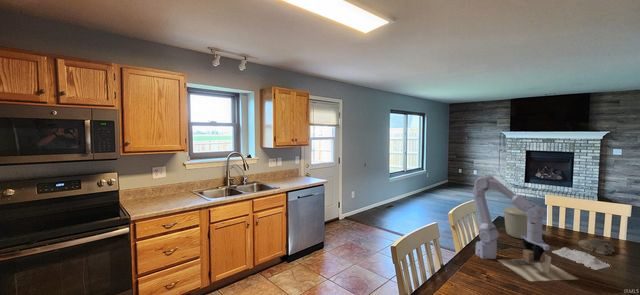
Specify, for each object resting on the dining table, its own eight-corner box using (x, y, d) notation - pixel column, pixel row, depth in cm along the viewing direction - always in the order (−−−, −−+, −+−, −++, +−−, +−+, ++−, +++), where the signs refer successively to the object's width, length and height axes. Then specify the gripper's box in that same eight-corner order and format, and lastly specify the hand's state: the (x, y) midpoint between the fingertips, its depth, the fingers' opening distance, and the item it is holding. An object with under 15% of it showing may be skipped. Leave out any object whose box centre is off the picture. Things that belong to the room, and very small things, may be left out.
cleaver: (561, 241, 173) (572, 239, 176) (561, 240, 173) (572, 238, 176) (516, 226, 201) (526, 224, 204) (516, 225, 201) (526, 224, 204)
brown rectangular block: (528, 263, 132) (528, 252, 132) (522, 259, 136) (523, 249, 135) (544, 262, 133) (544, 252, 132) (538, 259, 136) (538, 249, 136)
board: (529, 283, 125) (529, 280, 125) (496, 261, 146) (496, 259, 146) (579, 281, 127) (579, 278, 126) (539, 260, 147) (540, 257, 147)
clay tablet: (591, 241, 173) (574, 246, 164) (591, 233, 172) (575, 238, 164) (622, 250, 160) (606, 257, 152) (623, 242, 160) (607, 248, 151)
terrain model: (562, 250, 163) (562, 242, 163) (616, 266, 142) (616, 256, 142) (545, 255, 156) (545, 246, 156) (599, 272, 135) (599, 262, 135)
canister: (543, 241, 172) (544, 208, 171) (514, 241, 172) (515, 208, 171) (522, 231, 190) (523, 200, 189) (496, 231, 190) (496, 200, 189)
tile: (546, 273, 131) (548, 257, 131) (534, 266, 138) (536, 250, 138) (549, 273, 131) (551, 257, 131) (537, 266, 138) (538, 250, 138)
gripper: (556, 236, 126) (554, 265, 127) (530, 225, 141) (529, 251, 142) (541, 236, 126) (540, 266, 127) (516, 226, 140) (515, 252, 141)
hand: (533, 258), depth 134 cm, fingers closed on brown rectangular block, 3 cm apart
